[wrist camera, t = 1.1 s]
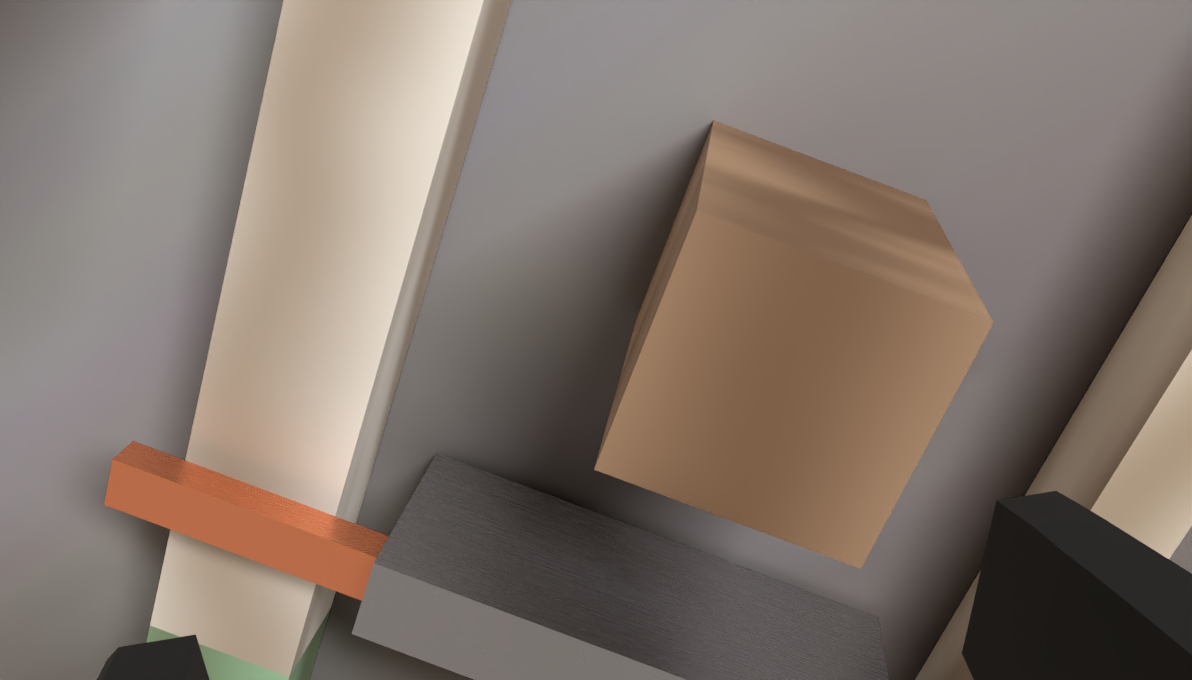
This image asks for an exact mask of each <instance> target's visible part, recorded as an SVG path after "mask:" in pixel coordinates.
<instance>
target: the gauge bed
mask: <svg viewBox="0 0 1192 680" xmlns="http://www.w3.org/2000/svg"><path fill="white" fill-rule="evenodd" d="M511 2H512V0H284V1H283V5H282V10H281V15H280V19H279V24H278V29H277V33H276V38H275V43H274V47H273V52H272V57H271V61H270V66H269V71H268V75H267V80H266V85H265V89H264V94H263V99H262V103H261V108H260V113H259V118H258V122H257V127H256V132H255V136H254V141H253V146H252V150H251V155H250V160H249V164H248V169H247V174H246V178H245V183H244V188H243V192H242V197H241V202H240V206H239V211H238V216H237V221H236V225H235V230H234V235H233V239H232V244H231V249H230V253H229V258H228V263H227V267H226V272H225V277H224V281H223V286H222V291H221V295H220V300H219V305H218V309H217V314H216V319H215V323H214V328H213V333H212V338H211V342H210V347H209V352H208V356H207V361H206V366H205V370H204V375H203V380H202V384H201V389H200V394H199V398H198V403H197V408H196V412H195V417H194V422H193V426H192V431H191V436H190V440H189V445H188V450H187V455H186V459H185V460H186V461H188V462H191V463H194V464H196V465H199V466H202V467H204V468H207V469H210V470H212V471H215V472H218V473H220V474H223V475H226V476H228V477H231V478H234V479H237V480H239V481H242V482H245V483H247V484H250V485H253V486H255V487H258V488H261V489H263V490H266V491H269V492H271V493H274V494H277V495H279V496H282V497H285V498H287V499H290V500H293V501H296V502H298V503H301V504H304V505H306V506H309V507H312V508H314V509H317V510H320V511H322V512H325V513H328V514H330V515H333V516H336V517H338V518H341V519H344V520H346V521H349V522H352V523H355V524H356V522H357V519H358V516H359V512H360V509H361V506H362V502H363V499H364V496H365V492H366V489H367V485H368V482H369V479H370V475H371V472H372V469H373V465H374V462H375V459H376V455H377V452H378V449H379V445H380V442H381V438H382V435H383V432H384V428H385V425H386V422H387V418H388V415H389V412H390V408H391V405H392V402H393V398H394V395H395V391H396V388H397V385H398V381H399V378H400V375H401V371H402V368H403V365H404V361H405V358H406V355H407V351H408V348H409V344H410V341H411V338H412V334H413V331H414V328H415V324H416V321H417V318H418V314H419V311H420V307H421V304H422V301H423V297H424V294H425V291H426V287H427V284H428V281H429V277H430V274H431V271H432V267H433V264H434V260H435V257H436V254H437V250H438V247H439V244H440V240H441V237H442V234H443V230H444V227H445V224H446V220H447V217H448V213H449V210H450V207H451V203H452V200H453V197H454V193H455V190H456V187H457V183H458V180H459V177H460V173H461V170H462V166H463V163H464V160H465V156H466V153H467V150H468V146H469V143H470V140H471V136H472V133H473V130H474V126H475V123H476V119H477V116H478V113H479V109H480V106H481V103H482V99H483V96H484V93H485V89H486V86H487V83H488V79H489V76H490V72H491V69H492V66H493V62H494V59H495V56H496V52H497V49H498V46H499V42H500V39H501V36H502V32H503V29H504V25H505V22H506V19H507V15H508V12H509V9H510V5H511ZM1051 491H1058V492H1059V493H1061V494H1063V495H1065V496H1066V497H1068V498H1070V499H1072V500H1073V501H1075V502H1077V503H1079V504H1080V505H1082V506H1084V507H1085V508H1087V509H1089V510H1090V511H1092V512H1094V513H1095V514H1097V515H1099V516H1100V517H1102V518H1103V519H1105V520H1107V521H1108V522H1110V523H1112V524H1113V525H1115V526H1116V527H1118V528H1120V529H1121V530H1123V531H1124V532H1126V533H1128V534H1129V535H1131V536H1132V537H1134V538H1136V539H1137V540H1139V541H1140V542H1142V543H1144V544H1145V545H1147V546H1148V547H1150V548H1152V549H1153V550H1155V551H1156V552H1158V553H1159V554H1161V555H1163V556H1164V557H1166V558H1167V559H1169V558H1170V557H1171V555H1172V554H1173V552H1174V551H1175V550H1176V548H1177V547H1178V545H1179V544H1180V542H1181V541H1182V539H1183V538H1184V536H1185V535H1186V533H1187V532H1188V530H1189V529H1190V527H1191V526H1192V216H1191V217H1190V219H1189V221H1188V222H1187V224H1186V226H1185V227H1184V229H1183V231H1182V232H1181V234H1180V236H1179V237H1178V239H1177V241H1176V242H1175V244H1174V246H1173V247H1172V249H1171V251H1170V252H1169V254H1168V256H1167V258H1166V259H1165V261H1164V263H1163V264H1162V266H1161V268H1160V269H1159V271H1158V273H1157V274H1156V276H1155V278H1154V279H1153V281H1152V283H1151V284H1150V286H1149V288H1148V289H1147V291H1146V293H1145V294H1144V296H1143V298H1142V300H1141V301H1140V303H1139V305H1138V306H1137V308H1136V310H1135V311H1134V313H1133V315H1132V316H1131V318H1130V320H1129V321H1128V323H1127V325H1126V326H1125V328H1124V330H1123V331H1122V333H1121V335H1120V336H1119V338H1118V340H1117V342H1116V343H1115V345H1114V347H1113V348H1112V350H1111V352H1110V353H1109V355H1108V357H1107V358H1106V360H1105V362H1104V363H1103V365H1102V367H1101V368H1100V370H1099V372H1098V373H1097V375H1096V377H1095V378H1094V380H1093V382H1092V384H1091V385H1090V387H1089V389H1088V390H1087V392H1086V394H1085V395H1084V397H1083V399H1082V400H1081V402H1080V404H1079V405H1078V407H1077V409H1076V410H1075V412H1074V414H1073V415H1072V417H1071V419H1070V420H1069V422H1068V424H1067V426H1066V427H1065V429H1064V431H1063V432H1062V434H1061V436H1060V437H1059V439H1058V441H1057V442H1056V444H1055V446H1054V447H1053V449H1052V451H1051V452H1050V454H1049V456H1048V457H1047V459H1046V461H1045V462H1044V464H1043V466H1042V467H1041V469H1040V471H1039V473H1038V474H1037V476H1036V478H1035V479H1034V481H1033V483H1032V484H1031V486H1030V488H1029V489H1028V491H1027V493H1026V494H1025V496H1027V495H1033V494H1039V493H1045V492H1051ZM980 572H981V570H980ZM980 572H979V573H978V575H977V577H976V578H975V580H974V582H973V583H972V585H971V587H970V588H969V590H968V592H967V593H966V595H965V597H964V599H963V600H962V602H961V604H960V605H959V607H958V609H957V610H956V612H955V614H954V615H953V617H952V619H951V620H950V622H949V624H948V625H947V627H946V629H945V630H944V632H943V634H942V635H941V637H940V639H939V641H938V642H937V644H936V646H935V647H934V649H933V651H932V652H931V654H930V656H929V657H928V659H927V661H926V662H925V664H924V666H923V667H922V669H921V671H920V672H919V674H918V676H917V677H916V679H915V680H974V679H973V677H972V675H971V673H970V670H969V668H968V666H967V664H966V661H965V659H964V657H963V655H962V650H963V646H964V641H965V637H966V633H967V628H968V624H969V620H970V615H971V611H972V606H973V602H974V598H975V593H976V589H977V585H978V580H979V576H980ZM335 593H336V591H334V590H331V589H329V588H326V587H323V586H321V585H318V584H315V583H313V582H310V581H307V580H305V579H302V578H299V577H297V576H294V575H291V574H288V573H286V572H283V571H280V570H278V569H275V568H272V567H270V566H267V565H264V564H262V563H259V562H256V561H254V560H251V559H248V558H246V557H243V556H240V555H237V554H235V553H232V552H229V551H227V550H224V549H221V548H219V547H216V546H213V545H211V544H208V543H205V542H203V541H200V540H197V539H195V538H192V537H189V536H186V535H184V534H181V533H178V532H176V531H173V530H170V534H169V539H168V543H167V548H166V553H165V557H164V562H163V567H162V572H161V576H160V581H159V586H158V590H157V595H156V600H155V604H154V609H153V614H152V618H151V623H150V628H149V632H148V637H147V642H146V643H148V642H154V641H160V640H166V639H172V638H178V637H184V636H190V635H196V637H197V640H198V643H199V647H200V650H201V653H202V657H203V660H204V663H205V666H206V670H207V673H208V676H209V680H310V677H311V673H312V670H313V667H314V663H315V660H316V657H317V653H318V650H319V647H320V643H321V640H322V637H323V633H324V630H325V626H326V623H327V620H328V616H329V613H330V610H331V606H332V603H333V600H334V596H335Z"/></svg>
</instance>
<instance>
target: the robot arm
mask: <svg viewBox="0 0 1192 680" xmlns="http://www.w3.org/2000/svg"><path fill="white" fill-rule="evenodd" d="M962 655H963V657H964V659H965V661H966V664H967V666H968V668H969V670H970V673H971V675H972V677H973V679H974V680H1192V574H1191V573H1190V572H1188V571H1186V570H1185V569H1183V568H1182V567H1180V566H1178V565H1177V564H1175V563H1174V562H1172V561H1171V560H1169V559H1167V558H1166V557H1164V556H1163V555H1161V554H1159V553H1158V552H1156V551H1155V550H1153V549H1152V548H1150V547H1148V546H1147V545H1145V544H1144V543H1142V542H1140V541H1139V540H1137V539H1136V538H1134V537H1132V536H1131V535H1129V534H1128V533H1126V532H1124V531H1123V530H1121V529H1120V528H1118V527H1116V526H1115V525H1113V524H1112V523H1110V522H1108V521H1107V520H1105V519H1103V518H1102V517H1100V516H1099V515H1097V514H1095V513H1094V512H1092V511H1090V510H1089V509H1087V508H1085V507H1084V506H1082V505H1080V504H1079V503H1077V502H1075V501H1073V500H1072V499H1070V498H1068V497H1066V496H1065V495H1063V494H1061V493H1059V492H1058V491H1051V492H1045V493H1039V494H1033V495H1027V496H1021V497H1015V498H1009V499H1003V500H997V502H996V506H995V510H994V515H993V519H992V523H991V528H990V532H989V537H988V541H987V545H986V550H985V554H984V558H983V563H982V567H981V572H980V576H979V580H978V585H977V589H976V593H975V598H974V602H973V606H972V611H971V615H970V620H969V624H968V628H967V633H966V637H965V641H964V646H963V650H962ZM97 680H209V676H208V673H207V670H206V666H205V663H204V660H203V657H202V653H201V650H200V647H199V643H198V640H197V637H196V635H190V636H184V637H178V638H172V639H166V640H160V641H154V642H148V643H142V644H136V645H130V646H124V647H118V649H117V650H116V651H115V652H114V653H113V654H112V655H111V656H110V657H109V658H108V660H107V661H106V663H105V665H104V667H103V669H102V671H101V673H100V675H99V677H98V679H97Z"/></svg>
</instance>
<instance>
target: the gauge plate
mask: <svg viewBox="0 0 1192 680" xmlns="http://www.w3.org/2000/svg"><path fill="white" fill-rule="evenodd" d="M104 505H106V506H109V507H111V508H114V509H117V510H119V511H122V512H125V513H127V514H130V515H133V516H135V517H138V518H141V519H144V520H146V521H149V522H152V523H154V524H157V525H160V526H162V527H165V528H168V529H170V530H173V531H176V532H178V533H181V534H184V535H186V536H189V537H192V538H195V539H197V540H200V541H203V542H205V543H208V544H211V545H213V546H216V547H219V548H221V549H224V550H227V551H229V552H232V553H235V554H237V555H240V556H243V557H246V558H248V559H251V560H254V561H256V562H259V563H262V564H264V565H267V566H270V567H272V568H275V569H278V570H280V571H283V572H286V573H288V574H291V575H294V576H297V577H299V578H302V579H305V580H307V581H310V582H313V583H315V584H318V585H321V586H323V587H326V588H329V589H331V590H334V591H337V592H339V593H342V594H345V595H348V596H350V597H353V598H356V599H358V600H361V601H362V602H361V605H360V608H359V612H358V615H357V618H356V621H355V624H354V628H353V631H352V634H353V635H356V636H358V637H361V638H364V639H366V640H369V641H372V642H375V643H377V644H380V645H383V646H385V647H388V648H391V649H393V650H396V651H399V652H401V653H404V654H407V655H409V656H412V657H415V658H418V659H420V660H423V661H426V662H428V663H431V664H434V665H436V666H439V667H442V668H444V669H447V670H450V671H452V672H455V673H458V674H460V675H463V676H466V677H469V678H471V679H474V680H889V678H888V672H887V666H886V660H885V654H884V648H883V642H882V636H881V629H880V623H879V618H878V617H875V616H872V615H870V614H867V613H864V612H862V611H859V610H856V609H854V608H851V607H848V606H846V605H843V604H840V603H838V602H835V601H832V600H830V599H827V598H824V597H821V596H819V595H816V594H813V593H811V592H808V591H805V590H803V589H800V588H797V587H795V586H792V585H789V584H787V583H784V582H781V581H779V580H776V579H773V578H771V577H768V576H765V575H763V574H760V573H757V572H754V571H752V570H749V569H746V568H744V567H741V566H738V565H736V564H733V563H730V562H728V561H725V560H722V559H720V558H717V557H714V556H712V555H709V554H706V553H704V552H701V551H698V550H696V549H693V548H690V547H687V546H685V545H682V544H679V543H677V542H674V541H671V540H669V539H666V538H663V537H661V536H658V535H655V534H653V533H650V532H647V531H645V530H642V529H639V528H637V527H634V526H631V525H629V524H626V523H623V522H621V521H618V520H615V519H612V518H610V517H607V516H604V515H602V514H599V513H596V512H594V511H591V510H588V509H586V508H583V507H580V506H578V505H575V504H572V503H570V502H567V501H564V500H562V499H559V498H556V497H554V496H551V495H548V494H545V493H543V492H540V491H537V490H535V489H532V488H529V487H527V486H524V485H521V484H519V483H516V482H513V481H511V480H508V479H505V478H503V477H500V476H497V475H495V474H492V473H489V472H487V471H484V470H481V469H478V468H476V467H473V466H470V465H468V464H465V463H462V462H460V461H457V460H454V459H452V458H449V457H446V456H444V455H441V454H438V453H437V454H436V455H435V457H434V459H433V461H432V462H431V464H430V466H429V468H428V469H427V471H426V473H425V475H424V476H423V478H422V480H421V481H420V483H419V485H418V487H417V488H416V490H415V492H414V494H413V495H412V497H411V499H410V501H409V502H408V504H407V506H406V508H405V509H404V511H403V513H402V515H401V516H400V518H399V520H398V522H397V523H396V525H395V527H394V528H393V530H392V532H391V534H390V535H389V536H387V535H384V534H381V533H379V532H376V531H373V530H371V529H368V528H365V527H363V526H360V525H357V524H355V523H352V522H349V521H346V520H344V519H341V518H338V517H336V516H333V515H330V514H328V513H325V512H322V511H320V510H317V509H314V508H312V507H309V506H306V505H304V504H301V503H298V502H296V501H293V500H290V499H287V498H285V497H282V496H279V495H277V494H274V493H271V492H269V491H266V490H263V489H261V488H258V487H255V486H253V485H250V484H247V483H245V482H242V481H239V480H237V479H234V478H231V477H228V476H226V475H223V474H220V473H218V472H215V471H212V470H210V469H207V468H204V467H202V466H199V465H196V464H194V463H191V462H188V461H186V460H183V459H180V458H178V457H175V456H172V455H169V454H167V453H164V452H161V451H159V450H156V449H153V448H151V447H148V446H145V445H143V444H140V443H137V442H135V441H133V442H132V443H130V444H129V445H128V446H127V447H126V448H125V449H124V450H122V451H121V452H120V453H119V454H118V455H117V456H116V457H114V458H113V459H112V464H111V470H110V475H109V481H108V486H107V492H106V497H105V503H104Z"/></svg>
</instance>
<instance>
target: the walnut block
mask: <svg viewBox="0 0 1192 680" xmlns="http://www.w3.org/2000/svg"><path fill="white" fill-rule="evenodd" d="M992 325H993V321H992V319H991V317H990V315H989V313H988V312H987V310H986V308H985V306H984V304H983V303H982V301H981V299H980V297H979V295H978V293H977V292H976V290H975V288H974V286H973V284H972V283H971V281H970V279H969V277H968V275H967V273H966V272H965V270H964V268H963V266H962V264H961V263H960V261H959V259H958V257H957V255H956V253H955V252H954V250H953V248H952V246H951V244H950V243H949V241H948V239H947V237H946V235H945V233H944V232H943V230H942V228H941V226H940V224H939V223H938V221H937V219H936V217H935V215H934V213H933V212H932V210H931V208H930V206H929V204H928V202H927V201H926V200H924V199H921V198H919V197H916V196H913V195H911V194H908V193H905V192H903V191H900V190H897V189H895V188H892V187H889V186H887V185H884V184H881V183H879V182H876V181H873V180H871V179H868V178H865V177H863V176H860V175H857V174H855V173H852V172H849V171H847V170H844V169H841V168H839V167H836V166H833V165H831V164H828V163H825V162H823V161H820V160H817V159H815V158H812V157H809V156H807V155H804V154H801V153H799V152H796V151H793V150H791V149H788V148H785V147H783V146H780V145H777V144H775V143H772V142H769V141H767V140H764V139H761V138H759V137H756V136H753V135H751V134H748V133H745V132H743V131H740V130H737V129H735V128H732V127H729V126H727V125H724V124H721V123H719V122H716V121H713V123H712V126H711V128H710V131H709V134H708V136H707V139H706V141H705V144H704V146H703V149H702V152H701V154H700V157H699V159H698V162H697V164H696V167H695V170H694V172H693V175H692V177H691V180H690V182H689V185H688V188H687V190H686V193H685V195H684V198H683V200H682V203H681V205H680V208H679V211H678V213H677V216H676V218H675V221H674V223H673V226H672V229H671V231H670V234H669V236H668V239H667V241H666V244H665V247H664V249H663V252H662V254H661V257H660V259H659V262H658V265H657V267H656V270H655V272H654V275H653V277H652V280H651V283H650V285H649V288H648V290H647V293H646V295H645V298H644V300H643V303H642V306H641V308H640V311H639V313H638V316H637V319H636V322H635V326H634V329H633V333H632V336H631V340H630V344H629V347H628V351H627V354H626V358H625V361H624V365H623V368H622V372H621V376H620V379H619V383H618V386H617V390H616V393H615V397H614V400H613V404H612V408H611V411H610V415H609V418H608V422H607V425H606V429H605V432H604V436H603V440H602V443H601V447H600V450H599V454H598V457H597V461H596V464H595V468H594V470H597V471H599V472H602V473H605V474H607V475H610V476H613V477H615V478H618V479H621V480H623V481H626V482H629V483H631V484H634V485H637V486H639V487H642V488H645V489H648V490H650V491H653V492H656V493H658V494H661V495H664V496H666V497H669V498H672V499H674V500H677V501H680V502H682V503H685V504H688V505H690V506H693V507H696V508H699V509H701V510H704V511H707V512H709V513H712V514H715V515H717V516H720V517H723V518H725V519H728V520H731V521H733V522H736V523H739V524H741V525H744V526H747V527H750V528H752V529H755V530H758V531H760V532H763V533H766V534H768V535H771V536H774V537H776V538H779V539H782V540H784V541H787V542H790V543H792V544H795V545H798V546H801V547H803V548H806V549H809V550H811V551H814V552H817V553H819V554H822V555H825V556H827V557H830V558H833V559H835V560H838V561H841V562H844V563H846V564H849V565H852V566H854V567H857V568H860V569H861V567H862V566H863V564H864V562H865V560H866V558H867V556H868V554H869V553H870V551H871V549H872V547H873V545H874V543H875V541H876V540H877V538H878V536H879V534H880V532H881V530H882V529H883V527H884V525H885V523H886V521H887V519H888V517H889V516H890V514H891V512H892V510H893V508H894V506H895V504H896V503H897V501H898V499H899V497H900V495H901V493H902V491H903V490H904V488H905V486H906V484H907V482H908V480H909V478H910V477H911V475H912V473H913V471H914V469H915V467H916V466H917V464H918V462H919V460H920V458H921V456H922V454H923V453H924V451H925V449H926V447H927V445H928V443H929V441H930V440H931V438H932V436H933V434H934V432H935V430H936V428H937V427H938V425H939V423H940V421H941V419H942V417H943V416H944V414H945V412H946V410H947V408H948V406H949V404H950V403H951V401H952V399H953V397H954V395H955V393H956V391H957V390H958V388H959V386H960V384H961V382H962V380H963V378H964V377H965V375H966V373H967V371H968V369H969V367H970V365H971V364H972V362H973V360H974V358H975V356H976V354H977V353H978V351H979V349H980V347H981V345H982V343H983V341H984V340H985V338H986V336H987V334H988V332H989V330H990V328H991V327H992Z"/></svg>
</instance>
